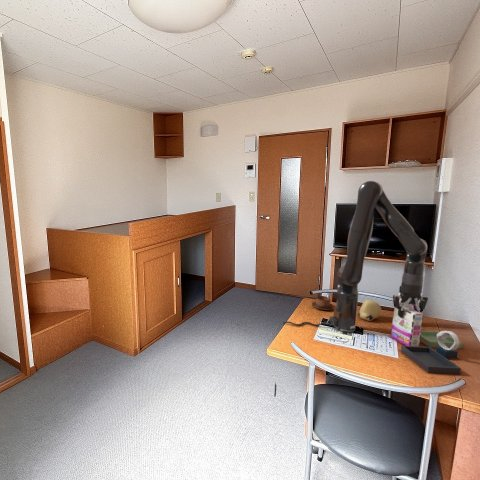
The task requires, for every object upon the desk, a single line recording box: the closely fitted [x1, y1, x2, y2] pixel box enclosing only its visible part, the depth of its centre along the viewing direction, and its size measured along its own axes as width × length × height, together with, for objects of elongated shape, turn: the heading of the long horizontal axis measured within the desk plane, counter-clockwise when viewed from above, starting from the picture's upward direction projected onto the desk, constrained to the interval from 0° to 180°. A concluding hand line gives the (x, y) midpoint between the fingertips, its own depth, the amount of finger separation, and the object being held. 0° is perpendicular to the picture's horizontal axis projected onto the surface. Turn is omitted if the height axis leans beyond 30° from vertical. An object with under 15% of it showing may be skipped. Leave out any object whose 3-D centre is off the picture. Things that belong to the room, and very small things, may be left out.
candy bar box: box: [390, 306, 425, 347], centre depth 147 cm, size 11×5×16 cm, turn 5°
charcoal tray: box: [400, 345, 462, 375], centre depth 132 cm, size 12×17×3 cm
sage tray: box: [420, 330, 463, 349], centre depth 148 cm, size 14×12×3 cm
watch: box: [435, 330, 461, 360], centre depth 136 cm, size 6×8×11 cm
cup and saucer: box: [311, 295, 335, 311], centre depth 190 cm, size 12×12×6 cm
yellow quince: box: [357, 299, 382, 322], centre depth 174 cm, size 10×12×11 cm
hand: (407, 317), depth 146 cm, fingers closed on candy bar box, 5 cm apart
